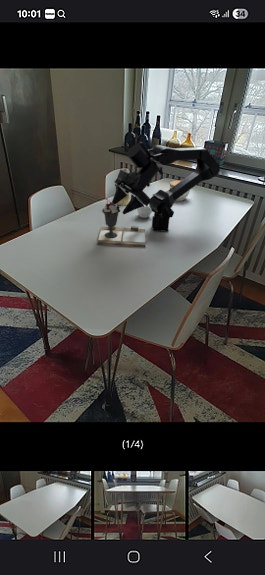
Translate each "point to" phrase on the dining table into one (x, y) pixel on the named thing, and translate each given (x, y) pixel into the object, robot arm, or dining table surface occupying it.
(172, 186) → the lidded jar
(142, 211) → the plain white apple
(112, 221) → the sundae
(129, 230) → the board
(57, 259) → the dining table surface
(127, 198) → the hand bell
